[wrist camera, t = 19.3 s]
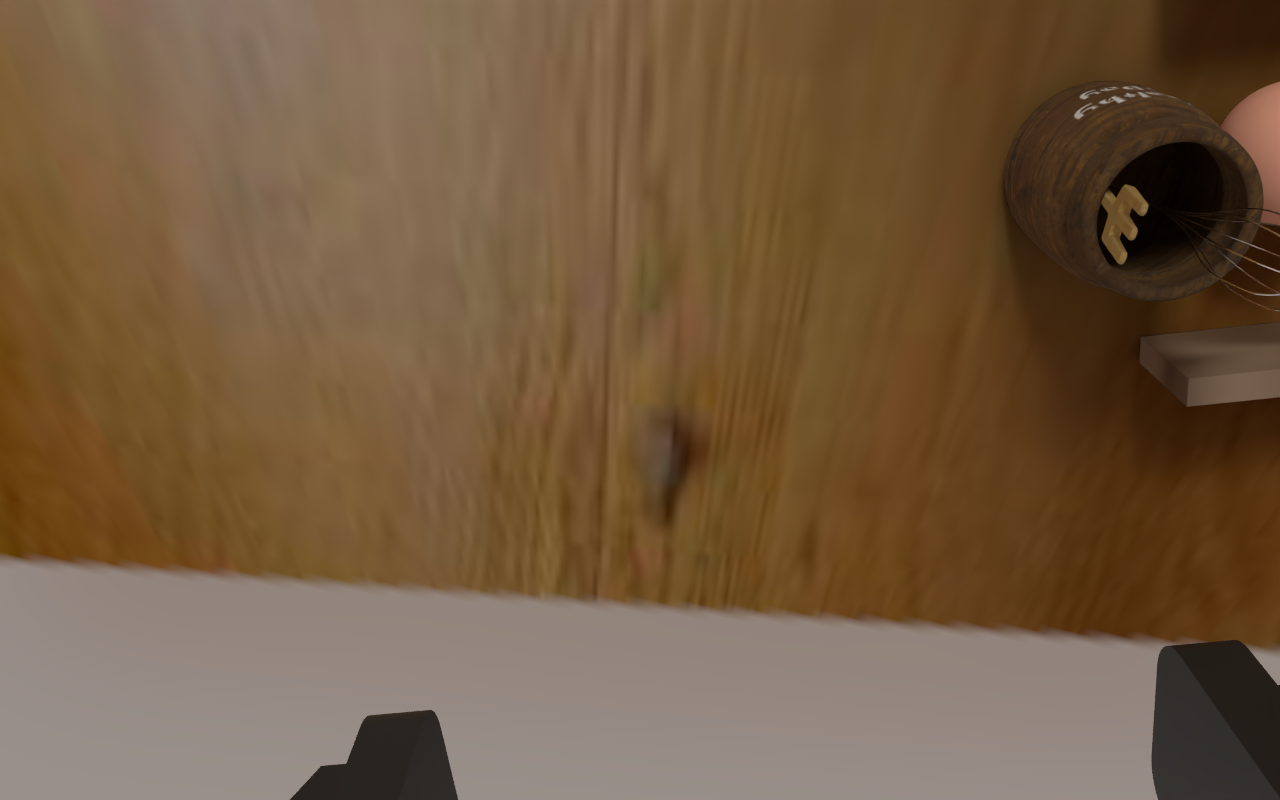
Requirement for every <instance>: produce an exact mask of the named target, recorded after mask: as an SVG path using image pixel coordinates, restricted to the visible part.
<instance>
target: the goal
mask: <svg viewBox="0 0 1280 800" xmlns="http://www.w3.org/2000/svg"><path fill="white" fill-rule="evenodd" d="M1139 363H1140V364H1141V365H1142V366H1143V367H1144V368H1145V369H1147V370H1148V371H1149V372H1150V373H1151V374H1152V375H1153V376H1154V377H1155V378H1156V379H1157V380H1158V381H1160V382H1161V383H1162V384H1163V385H1164V386H1165V387H1166V388H1167V389H1168V390H1169V391H1170V392H1171V393H1172V394H1174V395H1175V396H1176V397H1177V398H1178V399H1179V400H1180V401H1181V402H1182V403H1183V404H1184V405H1185V406H1186V407H1190V406H1199V405H1209V404H1218V403H1228V402H1238V401H1247V400H1257V399H1267V398H1276V397H1280V322H1274V323H1265V324H1256V325H1246V326H1237V327H1228V328H1219V329H1209V330H1200V331H1191V332H1182V333H1172V334H1163V335H1154V336H1145V337H1141V342H1140V362H1139Z"/></svg>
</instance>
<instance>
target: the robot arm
mask: <svg viewBox="0 0 1280 800" xmlns="http://www.w3.org/2000/svg"><path fill="white" fill-rule="evenodd" d="M1152 773H1153V779H1154V785H1155V789H1156V794H1157V797H1158V800H1280V685H1277V684H1276V683H1275V681H1274V680H1273V679H1272V678H1271V676H1270V675H1269V674H1268V673H1267V671H1266V670H1265V669H1264V668H1263V666H1262V665H1261V664H1260V663H1259V661H1258V660H1257V659H1256V658H1255V657H1254V655H1253V654H1252V653H1251V652H1250V650H1249V649H1248V648H1247V647H1246V646H1245V645H1244V644H1243V643H1241V642H1240V641H1237V640H1229V641H1218V642H1207V643H1196V644H1185V645H1173V646H1165V647H1163V649H1162V650H1161V652H1160V654H1159V658H1158V664H1157V679H1156V695H1155V711H1154V726H1153V742H1152ZM290 800H458V798H457V794H456V789H455V785H454V781H453V777H452V772H451V769H450V764H449V760H448V756H447V752H446V747H445V743H444V739H443V735H442V731H441V727H440V723H439V720H438V718H437V716H436V714H435V712H434V711H432V710H426V711H414V712H404V713H392V714H382V715H370V716H367V717H366V718H365V719H364V721H363V723H362V724H361V727H360V729H359V732H358V735H357V737H356V740H355V743H354V745H353V748H352V750H351V753H350V756H349V758H348V761H347V763H346V764H339V765H328V766H321V767H320V768H319V769H318V770H317V771H316V772H315V773H314V774H313V776H312V777H311V778H310V779H309V780H308V781H307V782H306V783H305V784H304V785H303V786H302V787H301V788H300V790H299V791H298V792H297V793H296V794H295V795H294V796H293V797H292V798H291V799H290Z"/></svg>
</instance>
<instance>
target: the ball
mask: <svg viewBox="0 0 1280 800" xmlns="http://www.w3.org/2000/svg"><path fill="white" fill-rule="evenodd" d="M1220 128H1221V129H1223V130H1224V131H1226V132H1227V133H1228V134H1230V135H1231V136H1232V137H1233V138H1234V139H1235V140H1237V141H1238V142H1239V143H1240V144H1241V145H1242V147H1243V148H1244V149H1245V150H1246V151H1247V152H1248V153H1249V155H1250V156H1251V158H1252V159H1253V161H1254V162H1255V164H1256V167H1257V169H1258V171H1259V174H1260V177H1261V181H1262V186H1263V195H1264V201H1263V209H1268V210H1272V211H1275V212H1278V213H1280V82H1277V83H1274V84H1271V85H1268V86H1266V87H1264V88H1261V89H1259V90H1257V91H1255V92H1254V93H1252V94H1250V95H1249V96H1247V97H1246V98H1245V99H1244V100H1242V101H1241V102H1240V103H1239V104H1237V105H1236V106H1235V107H1234V109H1233V110H1232V111H1231V112H1230V113H1229V114H1228V116H1227V117H1226V118H1225V120H1224V121H1223V123H1222V124H1221V126H1220ZM1260 222H1262V223H1269V224H1276V225H1280V215H1278V214H1275V213H1272V212H1269V211H1263V212H1262V217H1261V221H1260Z"/></svg>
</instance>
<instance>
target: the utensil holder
mask: <svg viewBox="0 0 1280 800" xmlns="http://www.w3.org/2000/svg"><path fill="white" fill-rule="evenodd" d="M1004 186H1005V194H1006V199H1007V203H1008V206H1009V209H1010V211H1011V213H1012V215H1013V217H1014V219H1015V221H1016V223H1017V224H1018V226H1019V227H1020V229H1021V230H1022V231H1023V232H1024V234H1025V235H1026V236H1027V237H1028V238H1029V239H1030V240H1031V241H1032V242H1033V243H1034V244H1035V245H1036V246H1037V247H1038V248H1039V249H1040V250H1042V251H1043V252H1044V253H1045V254H1046V255H1047V256H1048V257H1050V258H1051V259H1052V260H1053V261H1054V262H1056V263H1057V264H1058V265H1059V266H1061V267H1062V268H1063V269H1065V270H1066V271H1068V272H1069V273H1071V274H1072V275H1074V276H1075V277H1077V278H1079V279H1081V280H1083V281H1085V282H1088V283H1090V284H1093V285H1096V286H1099V287H1103V288H1107V289H1109V290H1111V291H1113V292H1115V293H1118V294H1121V295H1124V296H1127V297H1131V298H1135V299H1139V300H1145V301H1167V300H1174V299H1179V298H1183V297H1186V296H1189V295H1192V294H1195V293H1197V292H1199V291H1202V290H1203V289H1205V288H1207V287H1209V286H1211V285H1212V284H1214V283H1215V282H1217V281H1218V280H1220V281H1221V282H1222V283H1223V284H1224V285H1225V286H1226V287H1227V288H1228V289H1230V290H1231V291H1232V292H1234V293H1235V294H1237V295H1238V296H1240V297H1242V298H1244V299H1246V300H1248V301H1250V302H1252V303H1254V304H1256V305H1258V306H1260V307H1263V308H1265V309H1268V310H1272V311H1280V309H1271V308H1268V307H1265V306H1262V305H1260V304H1258V303H1256V302H1254V301H1252V300H1250V299H1248V298H1246V297H1244V296H1242V295H1240V294H1238V293H1237V292H1235V291H1234V290H1232V289H1231V288H1230V287H1229V286H1228V285H1226V284H1225V282H1226V283H1228V284H1230V285H1232V286H1235V287H1237V288H1239V289H1241V290H1243V291H1246V292H1248V293H1251V294H1255V295H1263V296H1276V295H1280V293H1279V292H1277V291H1275V290H1273V289H1271V288H1269V287H1267V286H1266V285H1264V284H1262V283H1261V282H1259V281H1257V280H1256V279H1254V278H1253V277H1252V276H1250V275H1249V274H1248V273H1246V272H1245V271H1244V270H1242V269H1241V268H1240V267H1239V266H1237V265H1236V264H1237V263H1238V262H1239V261H1240V260H1241V258H1242V257H1243V258H1245V259H1247V260H1249V261H1251V262H1253V263H1256V264H1258V265H1260V266H1263V267H1265V268H1268V269H1271V270H1273V271H1276V272H1279V273H1280V271H1279V270H1276V269H1273V268H1271V267H1268V266H1265V265H1263V264H1260V263H1258V262H1256V261H1253V260H1251V259H1249V258H1247V257H1245V256H1244V254H1245V253H1246V252H1247V250H1248V248H1249V247H1250V246H1253V247H1255V248H1258V249H1260V250H1263V251H1265V252H1268V253H1270V254H1273V255H1275V256H1277V257H1280V256H1279V255H1277V254H1275V253H1272V252H1270V251H1267V250H1265V249H1262V248H1260V247H1257V246H1255V245H1252V244H1251V243H1252V242H1253V240H1254V238H1255V235H1256V233H1257V231H1258V228H1259V227H1261V228H1263V229H1265V230H1268V231H1270V232H1272V233H1273V234H1275V235H1277V236H1279V237H1280V235H1279V234H1277V233H1275V232H1274V231H1272V230H1270V229H1268V228H1266V227H1264V226H1261V225H1260V224H1265V225H1272V226H1277V227H1280V225H1276V224H1269V223H1262V222H1260V221H1261V217H1262V212H1263V211H1269V212H1272V213H1275V214H1278V215H1280V213H1278V212H1275V211H1272V210H1268V209H1263V201H1264V195H1263V186H1262V181H1261V177H1260V174H1259V171H1258V169H1257V167H1256V164H1255V162H1254V161H1253V159H1252V158H1251V156H1250V155H1249V153H1248V152H1247V151H1246V150H1245V149H1244V148H1243V147H1242V145H1241V144H1240V143H1239V142H1238V141H1237V140H1235V139H1234V138H1233V137H1232V136H1231V135H1230V134H1228V133H1227V132H1226V131H1224V130H1223V129H1221V128H1220V126H1219V125H1218V124H1217V123H1216V122H1215V121H1214V120H1213V119H1212V118H1211V117H1209V116H1208V115H1207V114H1205V113H1204V112H1203V111H1201V110H1200V109H1198V108H1196V107H1195V106H1193V105H1191V104H1189V103H1187V102H1185V101H1183V100H1180V99H1178V98H1175V97H1172V96H1170V95H1167V94H1164V93H1161V92H1158V91H1155V90H1152V89H1149V88H1146V87H1143V86H1139V85H1135V84H1131V83H1126V82H1118V81H1098V82H1090V83H1085V84H1081V85H1078V86H1075V87H1072V88H1069V89H1067V90H1065V91H1063V92H1061V93H1059V94H1057V95H1055V96H1053V97H1052V98H1050V99H1049V100H1047V101H1046V102H1045V103H1043V104H1042V105H1041V106H1040V107H1039V108H1037V109H1036V110H1035V111H1034V112H1033V113H1032V114H1031V115H1030V117H1029V118H1028V119H1027V120H1026V121H1025V123H1024V124H1023V125H1022V127H1021V128H1020V130H1019V131H1018V133H1017V135H1016V137H1015V139H1014V140H1013V143H1012V145H1011V147H1010V150H1009V153H1008V156H1007V160H1006V165H1005V174H1004ZM1234 266H1236V267H1237V268H1238V269H1240V270H1241V271H1242V272H1243V273H1245V274H1246V275H1247V276H1249V277H1250V278H1251V279H1253V280H1254V281H1256V282H1257V283H1259V284H1260V285H1262V286H1264V287H1266V288H1267V289H1269V290H1271V291H1273V292H1275V293H1277V294H1260V293H1254V292H1251V291H1248V290H1245V289H1243V288H1241V287H1239V286H1237V285H1234V284H1232V283H1230V282H1228V281H1226V280H1224V279H1222V277H1224V276H1225V275H1226V274H1227V273H1228V272H1229V271H1230V270H1231V269H1233V268H1234Z"/></svg>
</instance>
